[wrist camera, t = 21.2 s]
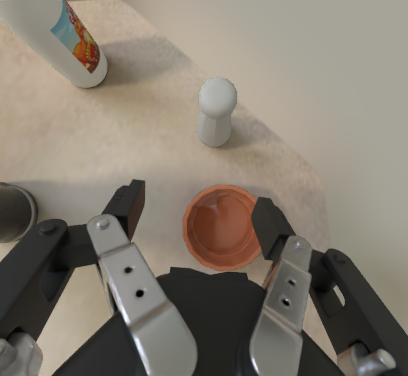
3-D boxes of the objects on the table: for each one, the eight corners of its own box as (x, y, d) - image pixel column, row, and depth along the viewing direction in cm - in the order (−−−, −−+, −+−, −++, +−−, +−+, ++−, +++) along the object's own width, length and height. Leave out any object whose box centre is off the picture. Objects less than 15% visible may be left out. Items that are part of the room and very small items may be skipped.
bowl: (171, 223, 32) (165, 228, 27) (220, 172, 32) (223, 168, 27) (222, 274, 31) (226, 288, 26) (272, 221, 32) (284, 226, 27)
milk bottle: (91, 98, 33) (-87, -57, 13) (56, 72, 33) (-172, -120, 13) (117, 64, 33) (-14, -140, 13) (83, 39, 33) (-98, -200, 13)
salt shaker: (216, 111, 33) (224, 55, 20) (236, 137, 32) (257, 97, 19) (189, 131, 32) (180, 87, 19) (209, 157, 32) (213, 130, 19)
